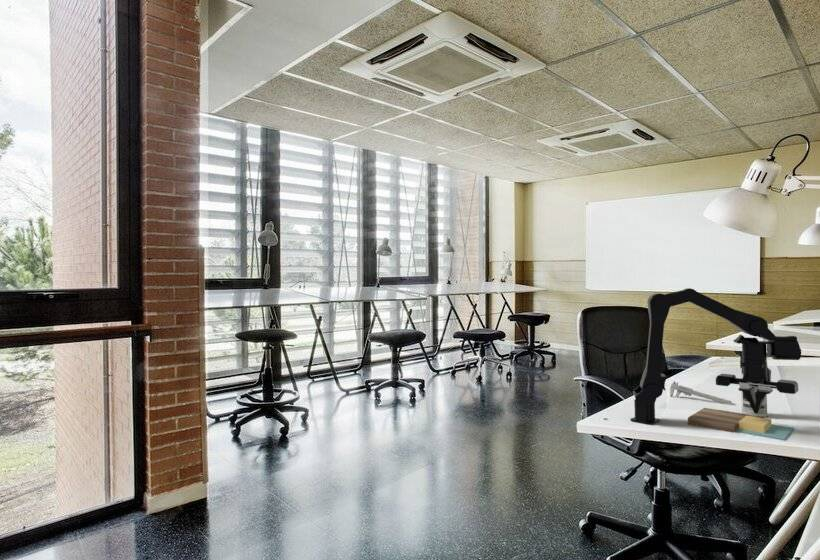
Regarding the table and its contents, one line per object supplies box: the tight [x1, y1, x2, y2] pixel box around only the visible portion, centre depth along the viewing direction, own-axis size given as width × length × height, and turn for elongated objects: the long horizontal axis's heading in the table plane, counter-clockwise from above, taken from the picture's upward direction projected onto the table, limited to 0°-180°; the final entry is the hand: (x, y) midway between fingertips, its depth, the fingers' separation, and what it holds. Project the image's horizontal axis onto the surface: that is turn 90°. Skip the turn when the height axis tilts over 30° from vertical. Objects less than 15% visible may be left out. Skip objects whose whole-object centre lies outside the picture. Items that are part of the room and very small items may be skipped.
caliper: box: [669, 380, 736, 406], centre depth 171 cm, size 20×1×6 cm, turn 46°
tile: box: [738, 416, 773, 433], centre depth 137 cm, size 9×6×2 cm, turn 132°
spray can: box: [739, 351, 768, 418], centre depth 151 cm, size 7×7×20 cm
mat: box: [737, 423, 795, 441], centre depth 135 cm, size 14×10×1 cm
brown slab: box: [687, 407, 749, 433], centre depth 144 cm, size 16×12×2 cm
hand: (756, 413), depth 137 cm, fingers closed
